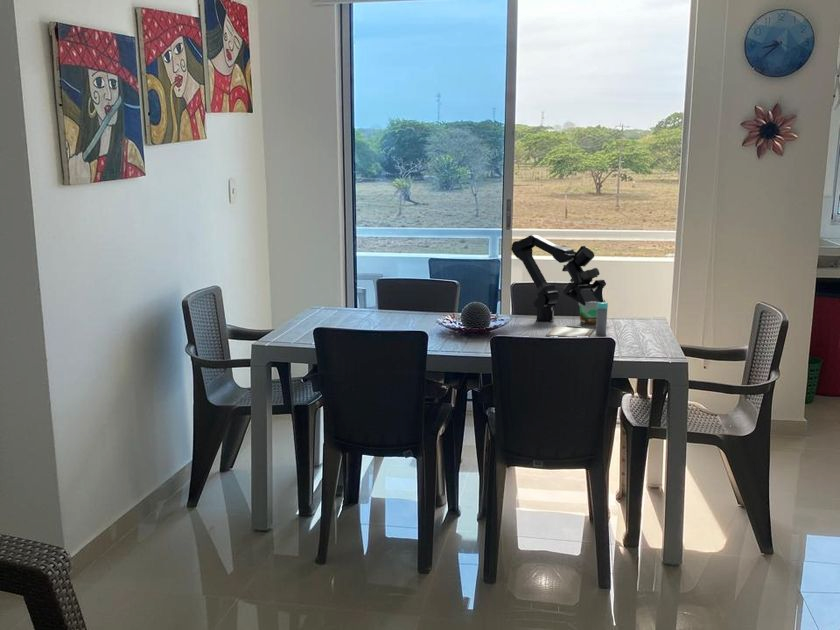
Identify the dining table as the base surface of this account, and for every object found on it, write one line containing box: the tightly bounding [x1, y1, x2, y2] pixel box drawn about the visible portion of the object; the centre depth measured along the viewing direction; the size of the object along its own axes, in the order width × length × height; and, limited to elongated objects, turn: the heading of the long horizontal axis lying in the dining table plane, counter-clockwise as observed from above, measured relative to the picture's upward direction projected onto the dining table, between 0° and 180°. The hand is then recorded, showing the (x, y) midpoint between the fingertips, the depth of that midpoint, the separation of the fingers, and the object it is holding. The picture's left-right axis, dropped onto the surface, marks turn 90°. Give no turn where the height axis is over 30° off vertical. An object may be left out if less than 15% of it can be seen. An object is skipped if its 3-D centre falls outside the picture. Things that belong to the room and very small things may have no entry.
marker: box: [595, 301, 609, 337], centre depth 325 cm, size 4×4×13 cm
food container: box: [577, 299, 607, 326], centre depth 346 cm, size 12×6×10 cm, turn 101°
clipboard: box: [545, 324, 595, 337], centre depth 329 cm, size 16×19×1 cm
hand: (593, 304), depth 329 cm, fingers open, 9 cm apart
